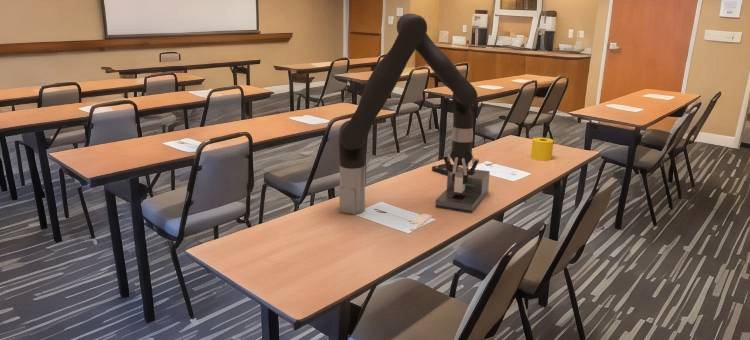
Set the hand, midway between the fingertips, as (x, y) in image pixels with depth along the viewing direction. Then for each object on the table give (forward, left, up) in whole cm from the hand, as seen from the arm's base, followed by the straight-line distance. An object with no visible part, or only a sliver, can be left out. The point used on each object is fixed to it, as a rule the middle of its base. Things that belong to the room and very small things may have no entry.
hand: (459, 183), depth 207 cm
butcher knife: (-24, +8, -9) cm, 27 cm away
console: (+7, 0, -9) cm, 11 cm away
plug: (0, 0, -3) cm, 3 cm away
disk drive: (+38, +15, -9) cm, 42 cm away
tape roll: (+83, -19, -9) cm, 86 cm away
